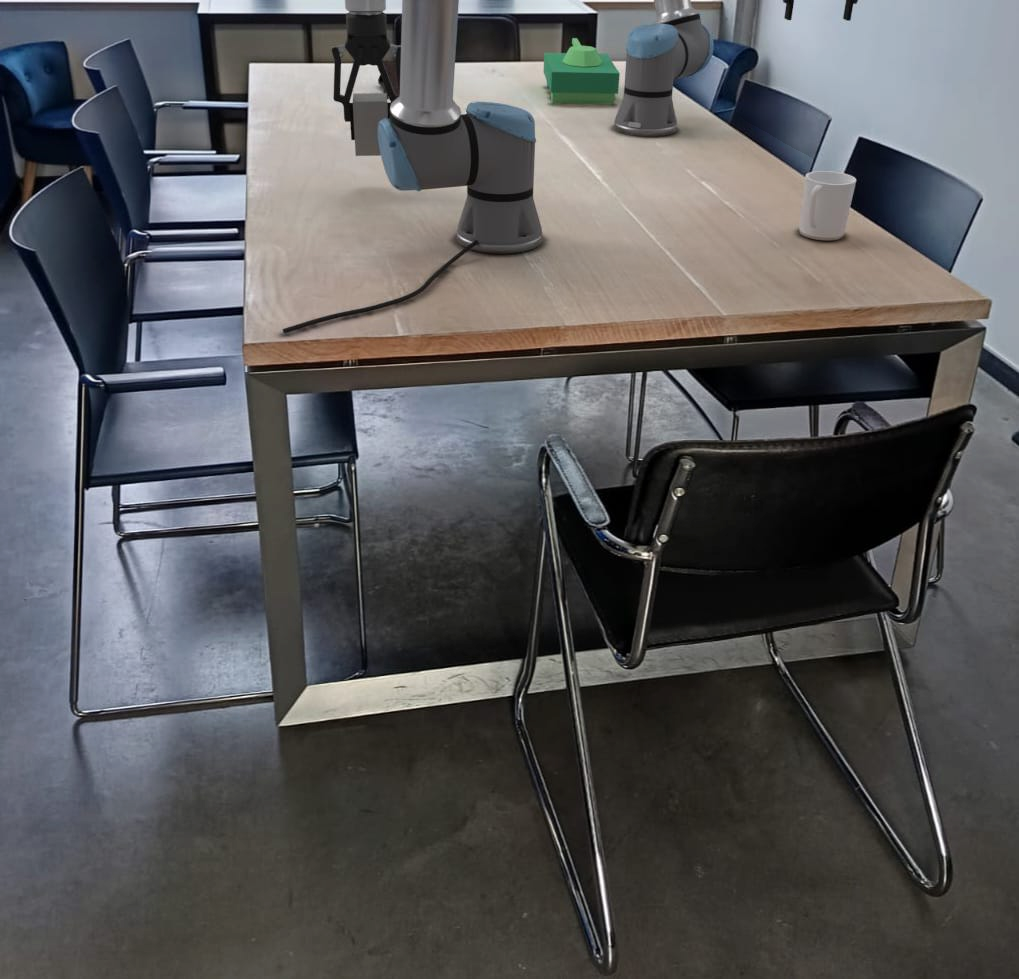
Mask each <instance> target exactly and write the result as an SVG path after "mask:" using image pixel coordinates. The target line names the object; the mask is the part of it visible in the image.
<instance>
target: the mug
mask: <svg viewBox="0 0 1019 979" xmlns="http://www.w3.org/2000/svg"><path fill="white" fill-rule="evenodd" d="M856 183H857V178H856V177H855V176H853V175H851V174H848V173H844V172H840V171H832V170H816V171H809V172H807V173H806V174H805V177H804V184H803V194H802V203H801V212H800V219H799V228H798V232H799V234H800V235H802V236H803V237H805V238H809V239H812V240H817V241H836V240H840V239H842V238H843V237H844V236H845V230H846V227H847V221H848V217H849V215H850V214H849V213H850V209H851V205H852V201H853V196H854V193H855V189H856Z"/></svg>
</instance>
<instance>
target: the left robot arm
mask: <svg viewBox="0 0 1019 979" xmlns="http://www.w3.org/2000/svg"><path fill="white" fill-rule="evenodd" d="M401 1H402V2H401V33H400V34H401V36H400V39H401V40H400V41H401V42H400V44H399V45H396V44H393V43H391V42H390V40H389V39H388V25H387V14H386V13H385V11H386V9H387V0H344V8H345V10H346V11H348V12H347V13H346V15H345V24H346V25H345V26H346V39H345V42H344V43H342V44H339V45H336V44H333V45H332V46H331V53H332V57H333V60H334V64H333V66H334V68H333V69H334V70H333V71H334V73H333V101H334V102H335V103H336V102H337V103H340V104H342V107H343V119H344V122H346V123H349V125H350V141H355V136H354V118H353V102H351V99H352V96H353V93H354V88H355V85H356V81H357V77H358V73H359V70H360V67H362V66H368V65H369V66H376V67H377V70H378V72H379V76H380V75H381V77H382V80H383V83H384V85H385V88H386V91H387V93H388V96H389V97H388V98H389V101H390V102H387V108H388V119H387V118H385V119H383V120H381V121H379V123H378V124H379V125H378V142H379V148H380V153H381V156H380V157H381V158H380V159H381V162H382V166H383V168H384V172H385V175H386V177H387V179H388V181H389V183H390V184H391V186H392V187H393V188H395V189H396V190H398V191H401V192H405V191H406V192H407V191H416V192H421V191H423V190H424V191H426V190H436V189H446V188H447V189H448V188H459V187H466V192H467V193H466V198H465V202H464V205H463V209H462V211H461V214H460V218H459V220H458V224H457V228H456V241H457V243H458V244H459V245H461V246H462V247H464V248H463V249H462V250H460V251H459V252H458V253H456V254H455V255H454V256H452V257H451V258H450V259H449V260H448V261H447V262H446V263H444V264H443V265H442V266H441V267H440V268H439V269H438V270H437V271H435V272H434V273H433V274H432V275H431V276H430V277H429V278H428V279H427V280H426V281H425V282H424V283H423V285H421V286H420V287H419V288H418V289H416V290H413V291H412V292H411V293H408V294H406V295H403V296H401V297H398V298H395V299H391V300H388V301H384V302H381V303H378V304H374V305H370V306H366V307H361V308H356V309H349V310H345V311H341V312H336V313H332V314H328V315H324V316H320V317H317V318H314V319H310V320H307V321H304V322H300V323H297V324H294V325H291V326H287V327H285V328H282V333H283V334H288V333H291V332H295V331H299V330H302V329H305V328H307V327H310V326H314V325H317V324H321V323H324V322H328V321H331V320H335V319H339V318H345V317H350V316H356V315H359V314H363V313H369V312H372V311H377V310H379V309H383V308H386V307H390V306H394V305H397V304H400V303H402V302H407V301H408V300H410V299H412V298H414V297H416V296H418V295H419V294H421V293H423V292H424V291H425V290H426V289H427V288H428V287H429V286H431V284H432V282H433V281H435V280H436V279H437V278H438V277H439V276H440V275H441V274H442V273H443V272H444V271H445V270H447V269H448V268H449V267H450V266H451V265H452V264H454V263H455V262H456V261H458V260H459V259H460V258H461V257H462V256H464V255H465V254H467V253H468V252H469V251H475V252H479V253H486V254H497V255H499V254H500V255H506V254H507V255H508V254H517V253H524V252H527V251H530V250H533V249H536V248H538V247H539V246H540V245H541V244H542V243H543V229H542V224H541V221H540V220H541V219H540V218H539V214H538V213H539V212H538V210H537V206H536V204H535V199H534V184H535V181H534V180H535V158H536V156H535V155H536V143H537V139H536V123H535V122H536V121H535V118H534V116H533V114H532V113H530V112H529V111H527V110H526V109H524V108H521V107H519V106H514V105H510V104H505V103H500V102H499V103H498V102H492V101H475V102H470V103H468V104H467V106H466V108H465V113H462V110H461V107H460V106H459V105H458V104H457V102H456V101H454V85H455V84H454V83H455V70H456V54H457V53H456V51H457V37H458V20H459V5H460V4H459V3H460V0H401ZM345 51H347V53H348V54H349V56H350V57H351V58H352V59H353V62H352V67H351V70H350V73H349V76H348V77H349V78H348V81H347V83H346V88H345V92H344V94H341V82H342V81H341V80H342V79H341V77H342V58H344V55H345ZM389 51H390V52H391V57H393V58H394V61H395V63H396V71H397V78H398V86H399V94H398V95H395V92H394V90H393V87H392V84H391V82H390V79H389V76H388V74H387V71H386V68H385V65H384V63H383V61H384V58H385V57H386V55H387V53H388V52H389Z"/></svg>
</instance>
